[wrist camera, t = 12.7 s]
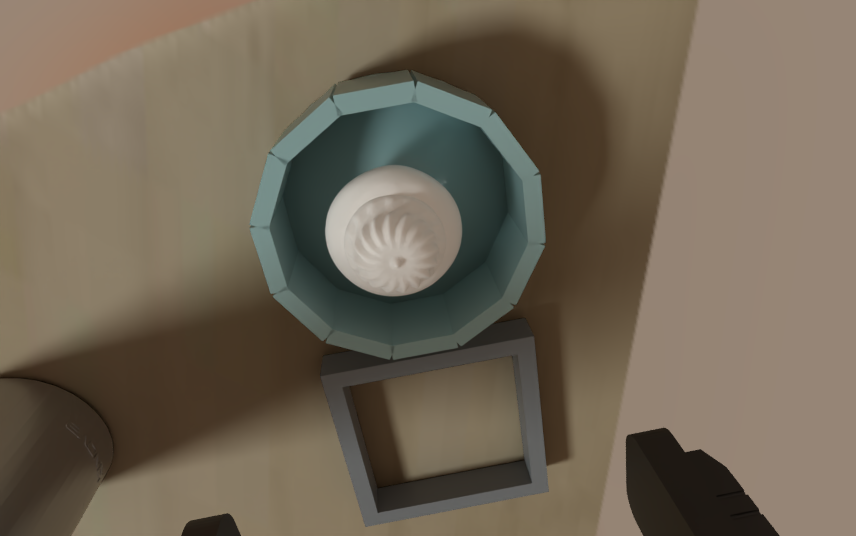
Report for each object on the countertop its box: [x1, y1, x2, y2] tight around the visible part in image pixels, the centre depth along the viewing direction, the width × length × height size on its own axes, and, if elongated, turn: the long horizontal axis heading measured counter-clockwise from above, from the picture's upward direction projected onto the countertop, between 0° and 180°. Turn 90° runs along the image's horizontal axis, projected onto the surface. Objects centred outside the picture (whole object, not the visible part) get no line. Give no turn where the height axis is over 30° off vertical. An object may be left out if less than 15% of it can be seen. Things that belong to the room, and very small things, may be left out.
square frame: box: [320, 318, 549, 527], centre depth 35 cm, size 12×12×2 cm
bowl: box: [249, 70, 546, 360], centre depth 27 cm, size 13×13×5 cm
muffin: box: [325, 165, 462, 296], centre depth 25 cm, size 6×6×7 cm
